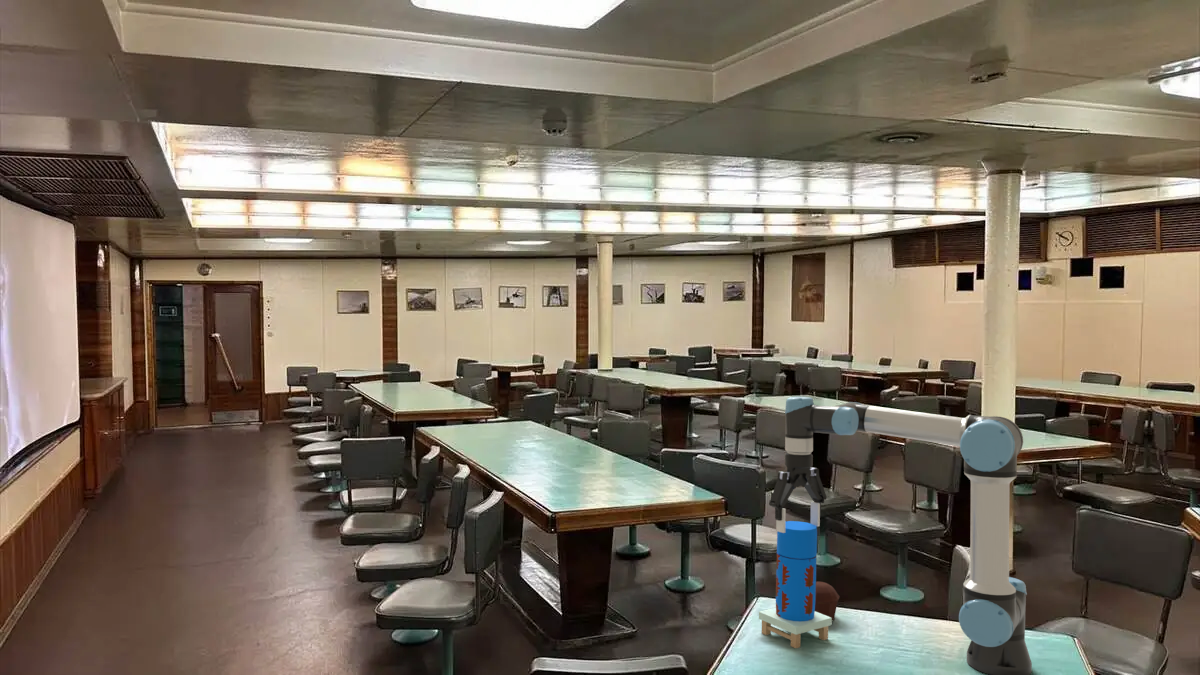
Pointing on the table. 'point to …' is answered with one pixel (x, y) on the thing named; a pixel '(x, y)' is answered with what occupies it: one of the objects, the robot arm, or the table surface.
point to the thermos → (796, 571)
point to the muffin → (826, 599)
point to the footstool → (794, 626)
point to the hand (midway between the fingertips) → (798, 528)
